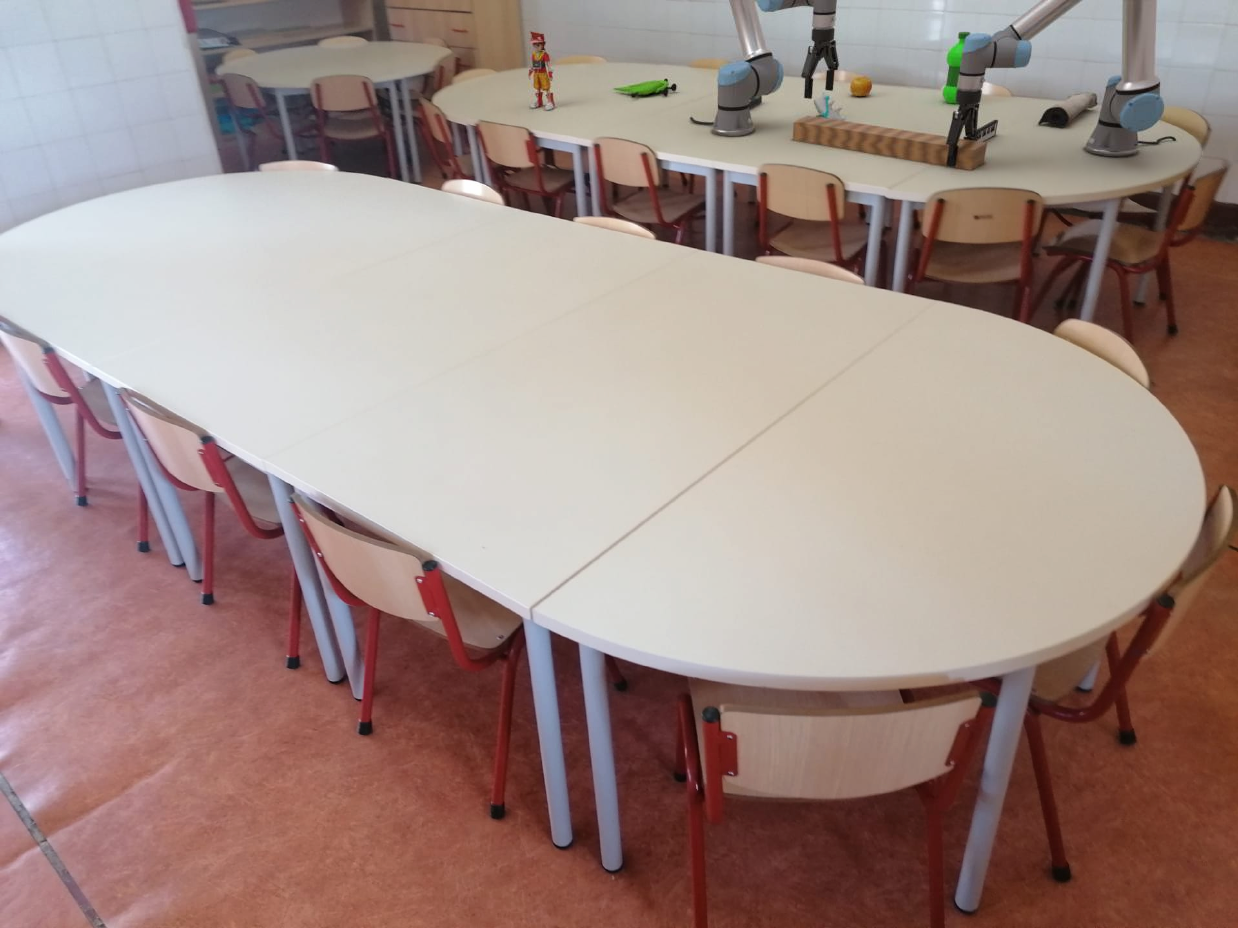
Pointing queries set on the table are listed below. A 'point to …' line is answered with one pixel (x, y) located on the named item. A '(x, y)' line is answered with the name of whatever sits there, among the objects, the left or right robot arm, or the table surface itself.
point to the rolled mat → (1068, 109)
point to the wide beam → (887, 141)
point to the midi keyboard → (986, 131)
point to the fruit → (861, 86)
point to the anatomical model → (827, 108)
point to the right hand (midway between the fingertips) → (957, 161)
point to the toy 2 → (648, 88)
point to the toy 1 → (541, 71)
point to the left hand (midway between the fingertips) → (818, 94)
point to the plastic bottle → (954, 68)
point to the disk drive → (754, 101)
